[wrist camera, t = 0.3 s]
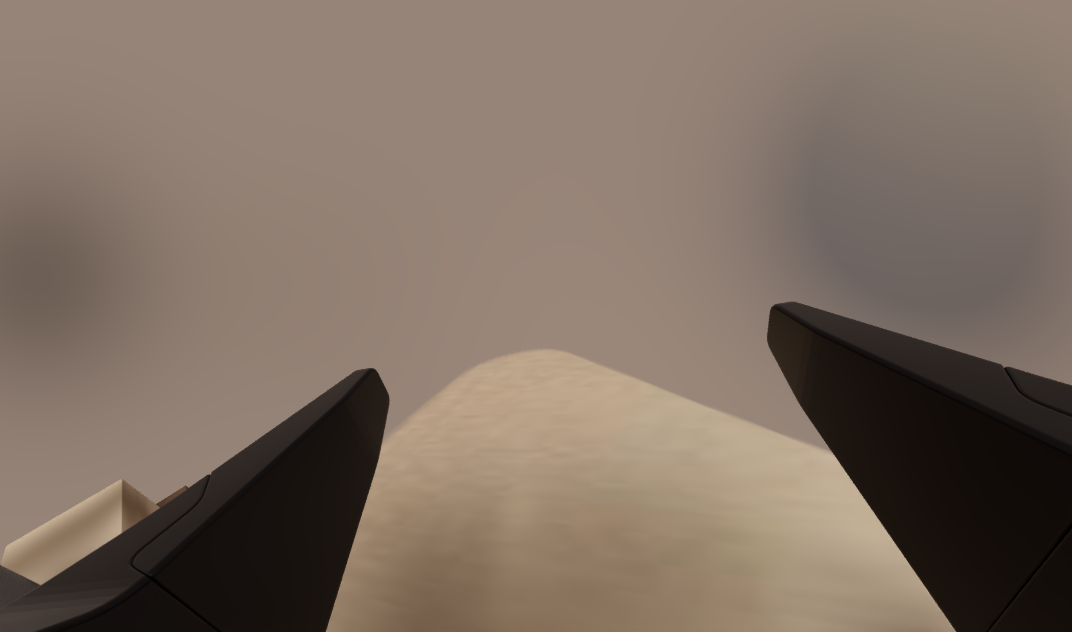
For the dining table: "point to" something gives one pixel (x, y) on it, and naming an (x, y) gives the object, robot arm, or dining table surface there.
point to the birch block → (77, 532)
